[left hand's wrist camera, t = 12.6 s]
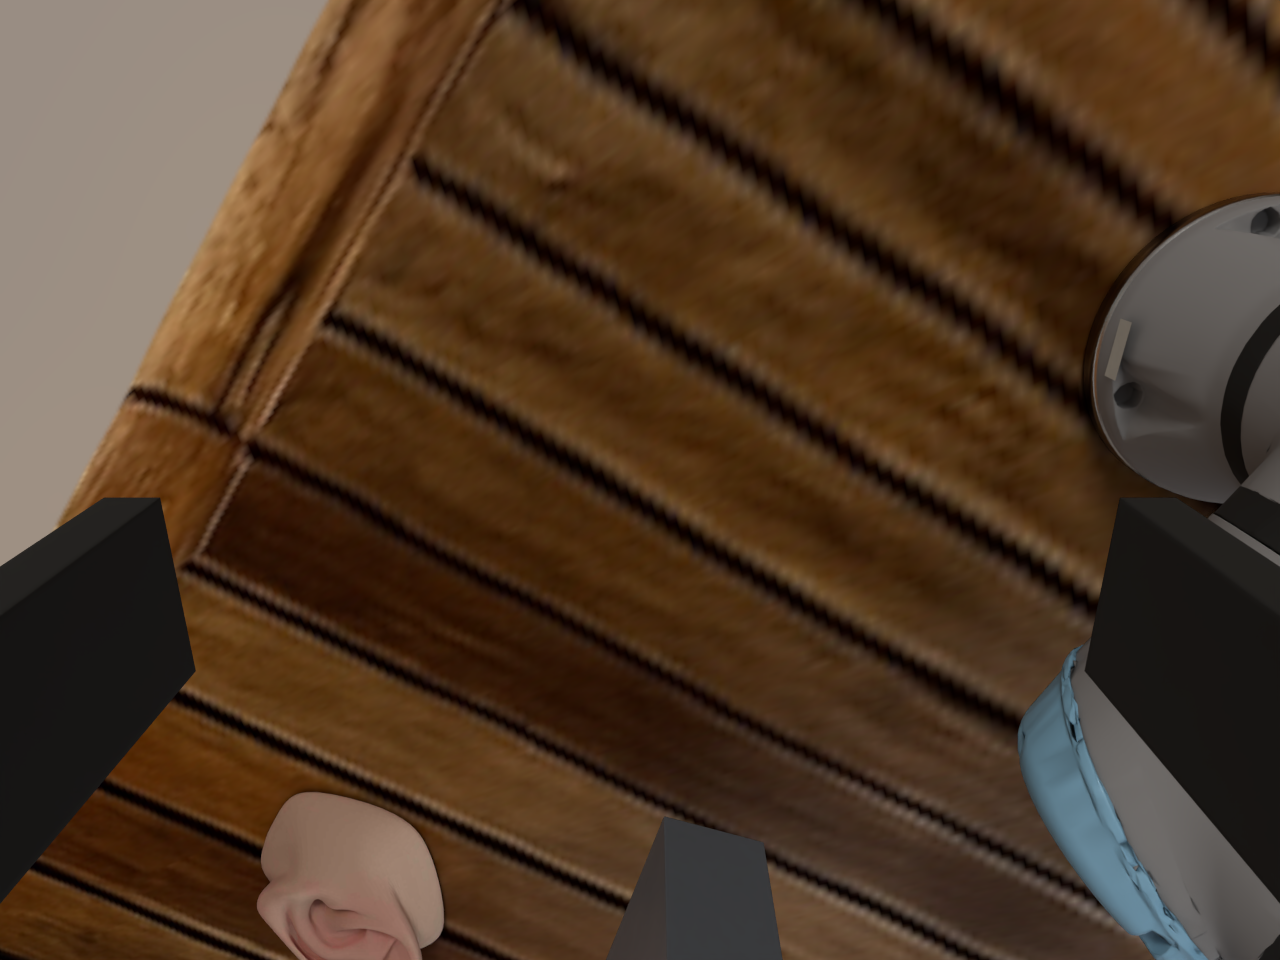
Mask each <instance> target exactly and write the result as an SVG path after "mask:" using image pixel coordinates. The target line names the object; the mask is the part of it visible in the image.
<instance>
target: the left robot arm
mask: <svg viewBox="0 0 1280 960" xmlns="http://www.w3.org/2000/svg"><path fill="white" fill-rule="evenodd" d="M1084 390H1085V397H1086V403H1087V407H1088V410H1089V414H1090V417H1091V419H1092V422H1093V424H1094V427H1095V429H1096V430H1097V432H1098V434H1099V436H1100V438H1101V439H1102V441H1103V442H1104V444H1105V445H1106V446H1107V448H1108V449H1109V450H1110V451H1111V452H1112V453H1113V454H1114V456H1115V457H1116V458H1117V459H1119V460H1120V461H1121V462H1122V463H1123V464H1124V465H1125V466H1127V467H1128V468H1130V469H1131V470H1133V471H1134V472H1136V473H1137V474H1139V475H1140V476H1142V477H1143V478H1145V479H1146V480H1148V481H1150V482H1151V483H1153V484H1155V485H1157V486H1159V487H1161V488H1164V489H1166V490H1169V491H1171V492H1174V493H1177V494H1179V495H1182V496H1185V497H1188V498H1192V499H1196V500H1201V501H1207V502H1215V503H1223V504H1222V505H1221V506H1220V507H1219V508H1218V510H1217V511H1216V512H1214V513H1213V514H1211V515H1210V516H1209V517H1208V519H1207V518H1206V517H1204V516H1203V515H1201V514H1200V513H1198V512H1197V511H1195V510H1194V509H1192V508H1191V507H1189V506H1188V505H1186V504H1185V503H1183V502H1182V501H1180V500H1179V499H1177V498H1120V500H1119V505H1118V510H1117V515H1116V519H1115V524H1114V529H1113V534H1112V539H1111V544H1110V549H1109V554H1108V558H1107V563H1106V568H1105V573H1104V578H1103V583H1102V588H1101V592H1100V597H1099V602H1098V607H1097V612H1096V617H1095V622H1094V627H1093V631H1092V636H1091V638H1090V639H1089V640H1088V641H1087V642H1086V643H1085V644H1084V645H1081V646H1080V647H1077V648H1075V649H1073V651H1071V652H1070V653H1069V655H1068V656H1067V657H1066V659H1065V662H1064V664H1063V666H1062V670H1061V672H1060V673H1059V674H1058V675H1057V676H1056V678H1055V679H1054V680H1053V681H1052V682H1051V683H1050V684H1049V686H1048V687H1047V688H1046V689H1045V690H1044V691H1043V692H1042V694H1041V695H1040V696H1039V697H1038V698H1037V699H1036V700H1035V702H1034V703H1033V704H1032V705H1031V706H1030V707H1029V709H1028V710H1027V711H1026V713H1025V715H1024V717H1023V718H1022V721H1021V724H1020V727H1019V731H1018V753H1019V756H1020V767H1021V772H1022V775H1023V778H1024V781H1025V784H1026V786H1027V789H1028V792H1029V794H1030V796H1031V799H1032V801H1033V803H1034V805H1035V807H1036V809H1037V811H1038V813H1039V815H1040V816H1041V818H1042V820H1043V822H1044V824H1045V825H1046V827H1047V829H1048V831H1049V832H1050V834H1051V836H1052V837H1053V839H1054V840H1055V842H1056V844H1057V845H1058V847H1059V848H1060V850H1061V851H1062V853H1063V854H1064V856H1065V857H1066V859H1067V860H1068V861H1069V863H1070V864H1071V866H1072V867H1073V868H1074V870H1075V871H1076V873H1077V874H1078V875H1079V877H1080V878H1081V879H1082V881H1083V882H1084V883H1085V885H1086V886H1087V887H1088V888H1089V890H1090V891H1091V892H1092V893H1093V895H1094V896H1095V897H1096V898H1097V900H1098V901H1099V902H1100V903H1101V904H1102V905H1103V907H1104V908H1105V909H1106V910H1107V911H1108V912H1109V914H1110V915H1111V916H1112V917H1113V918H1114V919H1115V920H1116V921H1117V922H1118V923H1119V925H1120V926H1121V927H1123V928H1124V929H1125V930H1126V931H1127V932H1128V933H1129V934H1131V935H1138V936H1139V937H1140V938H1141V940H1142V941H1143V942H1144V944H1145V945H1146V947H1147V948H1148V950H1149V951H1150V953H1151V954H1152V956H1153V957H1154V958H1155V959H1156V960H1280V193H1258V194H1249V195H1244V196H1239V197H1234V198H1230V199H1227V200H1224V201H1221V202H1218V203H1215V204H1212V205H1210V206H1207V207H1205V208H1202V209H1200V210H1198V211H1196V212H1194V213H1192V214H1190V215H1188V216H1186V217H1184V218H1183V219H1181V220H1180V221H1178V222H1176V223H1175V224H1173V225H1172V226H1170V227H1169V228H1167V229H1166V230H1165V231H1163V232H1162V233H1161V234H1159V235H1158V236H1157V237H1155V238H1154V239H1153V240H1152V241H1151V242H1150V243H1149V244H1147V245H1146V246H1145V247H1144V248H1143V249H1142V250H1141V251H1140V252H1139V253H1138V254H1137V255H1136V256H1135V257H1134V258H1133V259H1132V260H1131V261H1130V263H1129V264H1128V265H1127V266H1126V268H1125V269H1124V270H1123V271H1122V272H1121V274H1120V275H1119V276H1118V278H1117V279H1116V281H1115V282H1114V284H1113V285H1112V287H1111V288H1110V290H1109V292H1108V293H1107V295H1106V297H1105V299H1104V300H1103V302H1102V304H1101V306H1100V309H1099V311H1098V313H1097V315H1096V317H1095V320H1094V323H1093V326H1092V328H1091V331H1090V335H1089V339H1088V343H1087V347H1086V354H1085V360H1084ZM195 671H196V670H195V665H194V661H193V656H192V651H191V646H190V641H189V636H188V631H187V627H186V622H185V617H184V612H183V607H182V602H181V597H180V592H179V588H178V583H177V578H176V573H175V568H174V563H173V558H172V554H171V549H170V544H169V539H168V534H167V529H166V524H165V519H164V515H163V510H162V505H161V500H160V498H103V499H101V500H100V501H98V502H97V503H95V504H94V505H92V506H91V507H89V508H88V509H86V510H85V511H83V512H82V513H80V514H79V515H77V516H76V517H74V518H73V519H71V520H70V521H68V522H67V523H65V524H64V525H62V526H61V527H59V528H58V529H56V530H55V531H53V532H52V533H50V534H49V535H47V536H46V537H44V538H43V539H41V540H40V541H38V542H36V543H35V544H34V545H32V546H30V547H29V548H27V549H26V550H24V551H23V552H21V553H20V554H18V555H17V556H15V557H14V558H12V559H11V560H9V561H8V562H6V563H5V564H3V565H2V566H0V903H1V902H2V901H3V900H4V898H5V897H6V896H7V895H8V894H9V892H10V891H11V890H12V889H13V888H14V886H15V885H16V884H17V883H18V882H19V881H20V879H21V878H22V877H23V876H24V875H25V873H26V872H27V871H28V870H29V869H30V867H31V866H32V865H33V864H34V863H35V862H36V860H37V859H38V858H39V857H40V856H41V854H42V853H43V852H44V851H45V850H46V848H47V847H48V846H49V845H50V844H51V842H52V841H53V840H54V839H55V838H56V837H57V835H58V834H59V833H60V832H61V831H62V829H63V828H64V827H65V826H66V825H67V823H68V822H69V821H70V820H71V819H72V817H73V816H74V815H75V814H76V813H77V812H78V810H79V809H80V808H81V807H82V806H83V804H84V803H85V802H86V801H87V800H88V798H89V797H90V796H91V795H92V794H93V793H94V791H95V790H96V789H97V788H98V787H99V785H100V784H101V783H102V782H103V781H104V779H105V778H106V777H107V776H108V775H109V773H110V772H111V771H112V770H113V769H114V768H115V766H116V765H117V764H118V763H119V762H120V760H121V759H122V758H123V757H124V756H125V754H126V753H127V752H128V751H129V750H130V748H131V747H132V746H133V745H134V744H135V743H136V741H137V740H138V739H139V738H140V737H141V735H142V734H143V733H144V732H145V731H146V729H147V728H148V727H149V726H150V725H151V724H152V722H153V721H154V720H155V719H156V718H157V716H158V715H159V714H160V713H161V712H162V710H163V709H164V708H165V707H166V706H167V704H168V703H169V702H170V701H171V700H172V699H173V697H174V696H175V695H176V694H177V693H178V691H179V690H180V689H181V688H182V687H183V685H184V684H185V683H186V682H187V681H188V679H189V678H190V677H191V676H192V675H193V674H194V672H195Z"/></svg>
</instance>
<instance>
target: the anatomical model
mask: <svg viewBox="0 0 1280 960" xmlns="http://www.w3.org/2000/svg"><path fill="white" fill-rule="evenodd" d="M261 864H262V869H263V871H264V873H265V875H266V876H267V878H268V879H269V881H270V883H269V884H268V885H267V887H266V888H265V889H264V890H263V891H262V893H261V894H260V896H259V898H258V901H257V909H258V911H259V914H260V915H261V916H262V918H263V919H264V920H265V921H266V923H267V924H268V925H269V926H270V927H271V928H272V929H273V931H274V932H275V933H276V934H277V935H278V936H279V937H280V939H281V940H282V941H283V942H284V943H285V944H286V945H287V946H288V948H289V949H290V950H291V951H292V952H293V953H294V954H295V955H296V956H297V957H298V958H299V959H300V960H422V955H421V950H420V948H423V947H426V946H427V945H429V944H431V943H432V942H434V941H435V940H436V939H437V938H438V937H439V935H440V934H441V932H442V929H443V924H444V908H443V901H442V895H441V890H440V885H439V881H438V877H437V873H436V870H435V867H434V864H433V861H432V858H431V855H430V853H429V851H428V848H427V846H426V844H425V842H424V840H423V839H422V837H421V836H420V834H419V833H418V832H417V831H416V830H415V829H414V828H413V827H412V826H411V825H410V824H409V823H408V822H406V821H405V820H404V819H402V818H400V817H399V816H397V815H395V814H393V813H391V812H389V811H387V810H385V809H382V808H380V807H377V806H374V805H372V804H369V803H366V802H362V801H358V800H355V799H351V798H347V797H343V796H338V795H333V794H326V793H320V792H304V793H300V794H297V795H294V796H292V797H291V798H290V799H289V800H288V801H287V802H286V803H285V804H284V805H283V807H282V808H281V810H280V811H279V813H278V815H277V816H276V818H275V820H274V822H273V824H272V826H271V828H270V830H269V832H268V834H267V837H266V840H265V843H264V847H263V851H262V855H261Z"/></svg>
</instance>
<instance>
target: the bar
mask: <svg viewBox="0 0 1280 960" xmlns="http://www.w3.org/2000/svg"><path fill="white" fill-rule="evenodd" d="M606 960H782V953H781V947H780V941H779V935H778V929H777V923H776V917H775V911H774V904H773V898H772V892H771V886H770V880H769V874H768V868H767V861H766V855H765V849H764V843H763V842H760V841H756V840H752V839H748V838H744V837H741V836H737V835H733V834H729V833H725V832H722V831H718V830H714V829H710V828H706V827H703V826H699V825H695V824H691V823H687V822H684V821H680V820H676V819H672V818H669V817H664V818H663V820H662V823H661V825H660V828H659V830H658V833H657V835H656V838H655V840H654V843H653V845H652V848H651V850H650V853H649V855H648V857H647V860H646V862H645V865H644V867H643V870H642V872H641V875H640V877H639V880H638V882H637V885H636V887H635V890H634V892H633V895H632V897H631V899H630V902H629V904H628V907H627V909H626V912H625V914H624V917H623V919H622V922H621V924H620V927H619V929H618V932H617V934H616V936H615V939H614V941H613V944H612V946H611V949H610V951H609V954H608V956H607V959H606Z"/></svg>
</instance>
